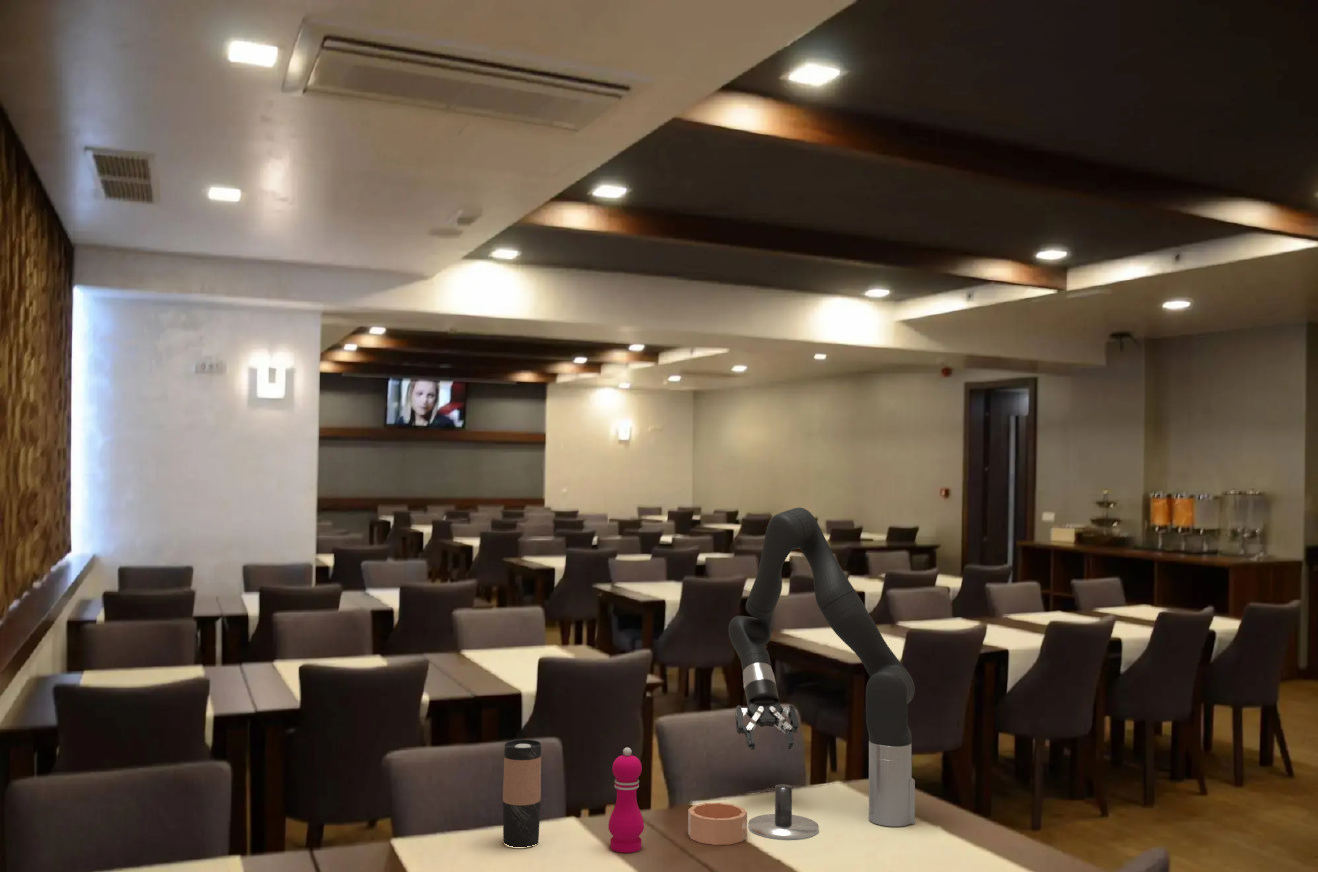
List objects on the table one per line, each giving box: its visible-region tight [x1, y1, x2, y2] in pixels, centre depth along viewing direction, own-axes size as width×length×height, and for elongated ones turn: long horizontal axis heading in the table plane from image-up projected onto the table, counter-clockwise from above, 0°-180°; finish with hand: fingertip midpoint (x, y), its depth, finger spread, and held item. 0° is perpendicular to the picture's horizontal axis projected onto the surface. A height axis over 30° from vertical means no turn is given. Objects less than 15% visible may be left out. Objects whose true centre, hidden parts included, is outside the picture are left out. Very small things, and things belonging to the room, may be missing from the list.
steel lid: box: [747, 783, 820, 841], centre depth 227 cm, size 15×15×9 cm
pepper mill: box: [607, 747, 645, 854], centre depth 214 cm, size 7×7×20 cm
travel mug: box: [502, 739, 542, 847], centre depth 216 cm, size 8×8×20 cm
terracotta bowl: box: [687, 802, 748, 846], centre depth 222 cm, size 12×12×5 cm
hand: (771, 747), depth 238 cm, fingers open, 8 cm apart
